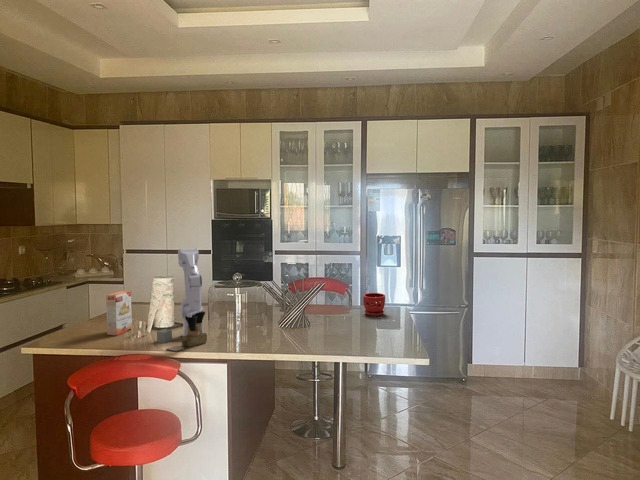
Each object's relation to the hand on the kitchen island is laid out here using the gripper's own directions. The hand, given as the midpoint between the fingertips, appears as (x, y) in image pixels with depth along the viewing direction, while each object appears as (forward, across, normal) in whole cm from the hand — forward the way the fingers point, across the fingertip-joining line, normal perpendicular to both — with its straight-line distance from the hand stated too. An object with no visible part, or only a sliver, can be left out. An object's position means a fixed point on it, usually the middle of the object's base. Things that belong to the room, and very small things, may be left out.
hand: (195, 328), depth 237 cm
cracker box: (+8, -16, -48) cm, 52 cm away
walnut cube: (+3, 0, 0) cm, 3 cm away
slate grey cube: (+8, -4, -18) cm, 20 cm away
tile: (+7, +9, -6) cm, 13 cm away
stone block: (+8, 0, -1) cm, 8 cm away
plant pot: (+8, -75, +81) cm, 111 cm away
